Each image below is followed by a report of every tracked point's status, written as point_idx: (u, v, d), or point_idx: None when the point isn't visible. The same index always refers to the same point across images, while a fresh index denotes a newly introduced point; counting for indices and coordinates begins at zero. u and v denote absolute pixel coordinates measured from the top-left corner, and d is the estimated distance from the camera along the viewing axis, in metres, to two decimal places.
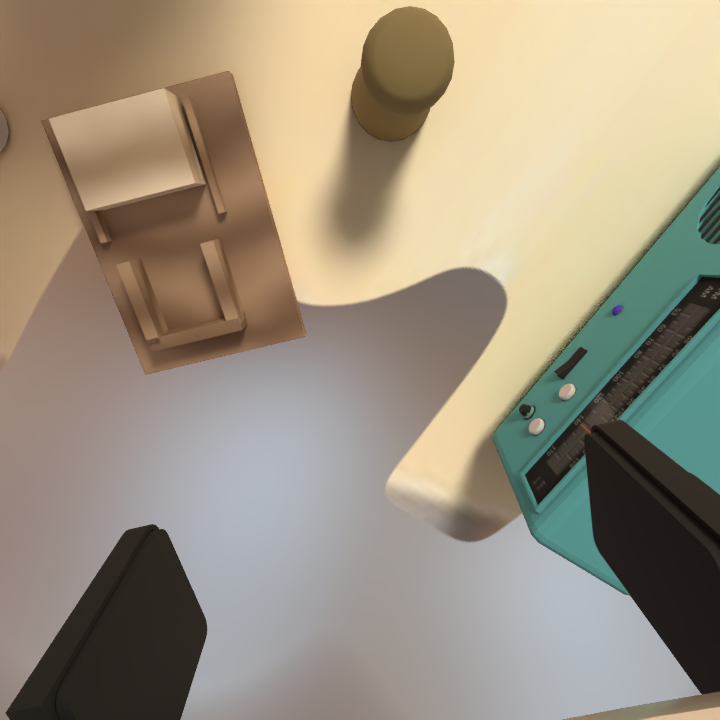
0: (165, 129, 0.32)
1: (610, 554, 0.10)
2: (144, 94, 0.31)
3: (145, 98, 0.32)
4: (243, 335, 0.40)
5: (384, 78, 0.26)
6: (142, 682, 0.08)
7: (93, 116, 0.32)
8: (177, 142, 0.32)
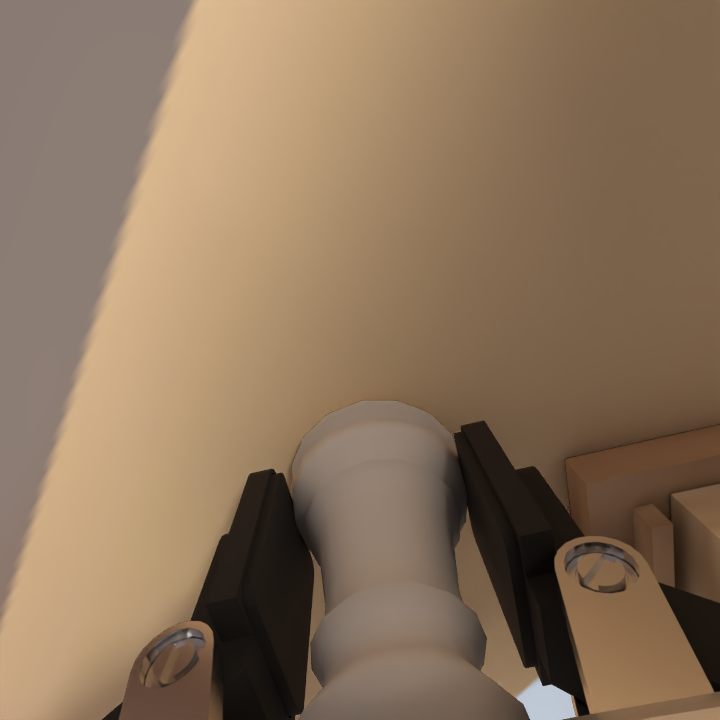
0: None
1: (478, 540, 0.11)
2: None
3: None
4: None
5: None
6: (287, 598, 0.09)
7: None
8: None
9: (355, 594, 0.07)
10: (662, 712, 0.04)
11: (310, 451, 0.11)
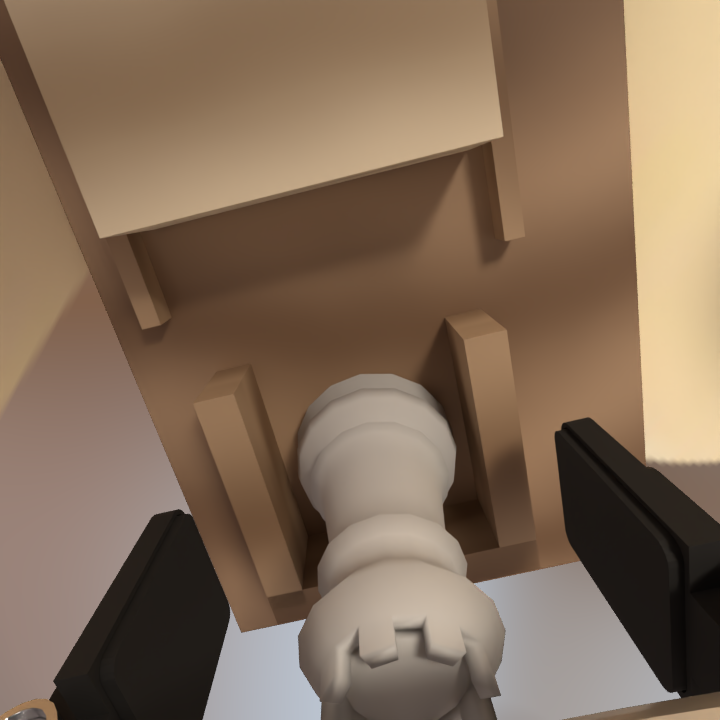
0: None
1: (580, 547, 0.10)
2: None
3: None
4: None
5: None
6: (175, 658, 0.09)
7: None
8: None
9: (356, 522, 0.09)
10: (662, 712, 0.04)
11: (314, 417, 0.12)
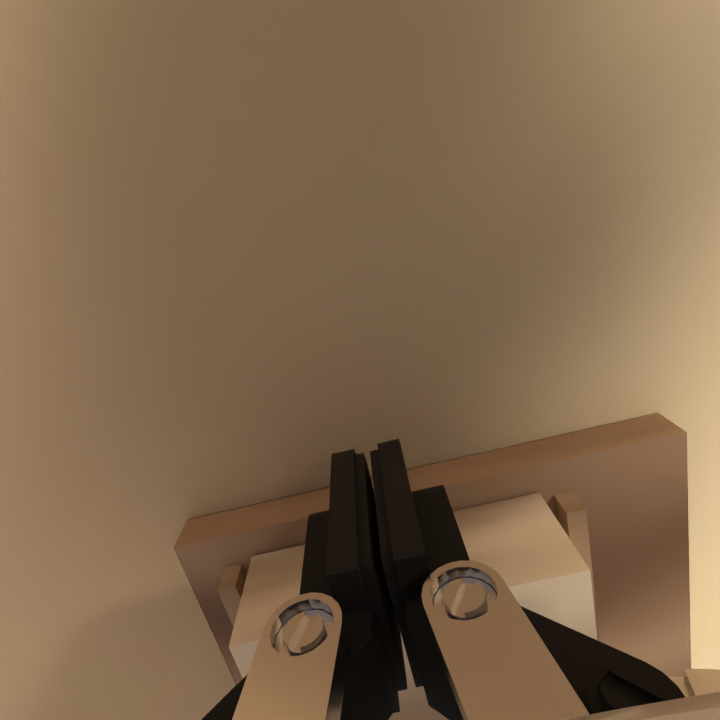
0: None
1: None
2: (528, 587, 0.10)
3: (528, 593, 0.10)
4: None
5: None
6: (384, 575, 0.09)
7: None
8: None
9: None
10: (662, 712, 0.04)
11: None
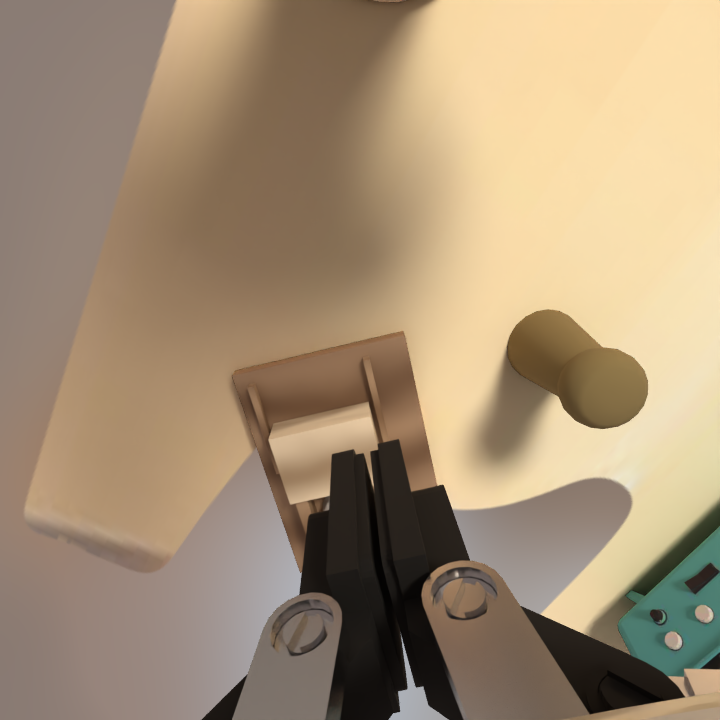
0: (367, 445, 0.37)
1: None
2: (353, 421, 0.36)
3: (353, 424, 0.36)
4: None
5: (589, 414, 0.29)
6: (384, 575, 0.09)
7: (307, 437, 0.37)
8: None
9: None
10: (662, 712, 0.04)
11: (328, 500, 0.40)
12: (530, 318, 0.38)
